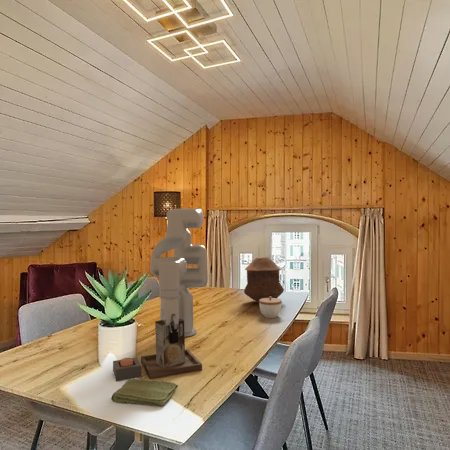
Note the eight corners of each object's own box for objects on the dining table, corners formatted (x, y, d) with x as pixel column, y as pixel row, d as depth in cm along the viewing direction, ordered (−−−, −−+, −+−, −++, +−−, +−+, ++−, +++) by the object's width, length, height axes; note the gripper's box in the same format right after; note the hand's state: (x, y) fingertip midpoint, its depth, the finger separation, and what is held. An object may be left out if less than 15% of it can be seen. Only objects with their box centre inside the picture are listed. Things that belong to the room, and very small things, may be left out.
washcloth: (165, 409, 108) (165, 398, 108) (109, 404, 112) (108, 393, 112) (179, 389, 121) (179, 379, 121) (128, 385, 125) (128, 375, 125)
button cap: (119, 367, 133) (119, 358, 133) (132, 365, 135) (132, 357, 135) (121, 371, 129) (121, 363, 129) (134, 369, 131) (134, 361, 131)
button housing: (113, 372, 135) (112, 360, 134) (137, 368, 138) (137, 357, 138) (115, 381, 127) (115, 369, 127) (141, 376, 130) (141, 365, 130)
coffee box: (176, 357, 145) (176, 316, 145) (185, 362, 140) (185, 320, 140) (155, 363, 139) (154, 320, 139) (163, 369, 134) (163, 324, 134)
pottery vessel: (283, 308, 227) (282, 259, 227) (241, 307, 232) (241, 259, 231) (284, 299, 253) (283, 255, 252) (246, 298, 257) (246, 255, 257)
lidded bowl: (279, 320, 202) (279, 299, 202) (256, 318, 206) (256, 298, 206) (283, 314, 214) (283, 295, 214) (262, 312, 218) (261, 293, 218)
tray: (140, 362, 144) (140, 356, 144) (188, 354, 151) (188, 349, 151) (149, 379, 128) (149, 373, 128) (202, 370, 135) (202, 364, 135)
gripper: (154, 289, 146) (155, 333, 146) (165, 299, 130) (166, 347, 130) (173, 288, 149) (174, 330, 149) (186, 297, 133) (186, 344, 133)
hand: (170, 338), depth 140 cm, fingers open, 9 cm apart
